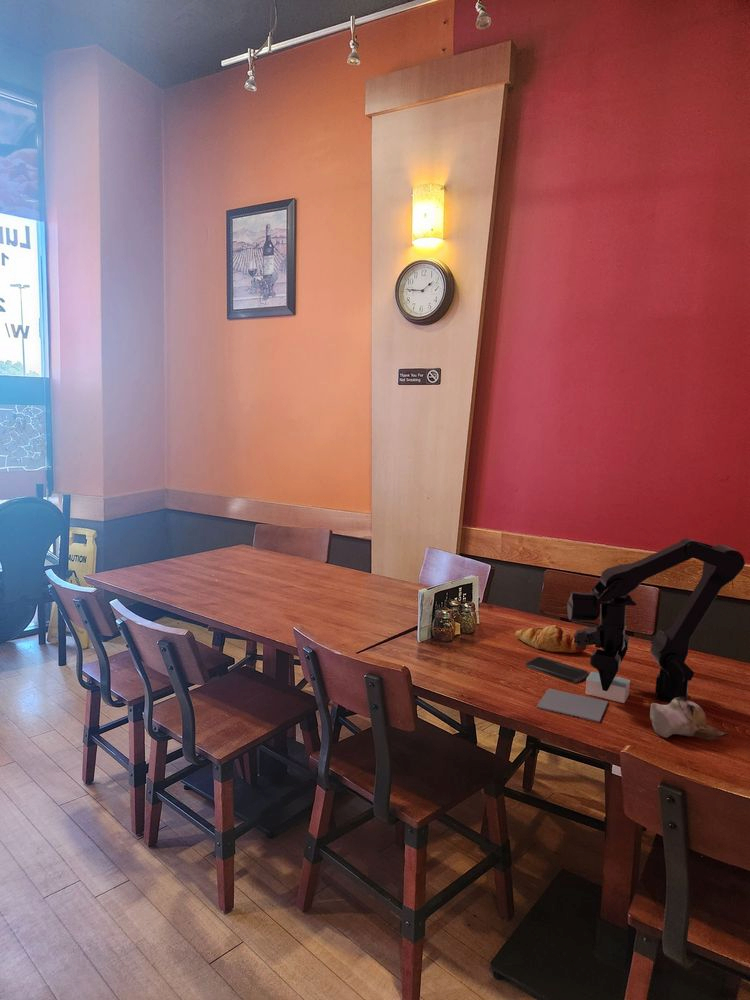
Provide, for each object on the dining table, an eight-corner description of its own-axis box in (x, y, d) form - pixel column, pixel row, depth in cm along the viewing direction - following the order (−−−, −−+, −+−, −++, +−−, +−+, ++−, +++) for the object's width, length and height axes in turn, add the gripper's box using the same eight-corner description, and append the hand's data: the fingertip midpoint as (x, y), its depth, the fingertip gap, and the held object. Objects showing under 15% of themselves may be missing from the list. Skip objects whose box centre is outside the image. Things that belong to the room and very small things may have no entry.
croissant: (511, 652, 194) (506, 633, 190) (523, 629, 201) (519, 609, 197) (582, 668, 182) (579, 648, 178) (592, 642, 189) (589, 622, 185)
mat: (607, 703, 154) (608, 701, 154) (599, 722, 144) (599, 720, 144) (548, 689, 161) (548, 688, 161) (536, 707, 151) (536, 706, 151)
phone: (575, 681, 164) (524, 663, 175) (575, 685, 165) (523, 667, 175) (590, 672, 170) (539, 655, 180) (590, 676, 170) (539, 659, 180)
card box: (628, 695, 159) (630, 679, 158) (624, 704, 154) (625, 688, 154) (591, 686, 164) (592, 671, 163) (585, 694, 159) (586, 679, 158)
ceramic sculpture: (640, 685, 143) (703, 687, 145) (634, 722, 145) (697, 723, 146) (666, 708, 133) (734, 709, 135) (660, 747, 134) (728, 748, 136)
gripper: (585, 605, 168) (581, 663, 170) (569, 627, 152) (565, 690, 154) (631, 612, 163) (627, 672, 165) (620, 635, 147) (615, 701, 149)
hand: (608, 683), depth 158 cm, fingers open, 9 cm apart
